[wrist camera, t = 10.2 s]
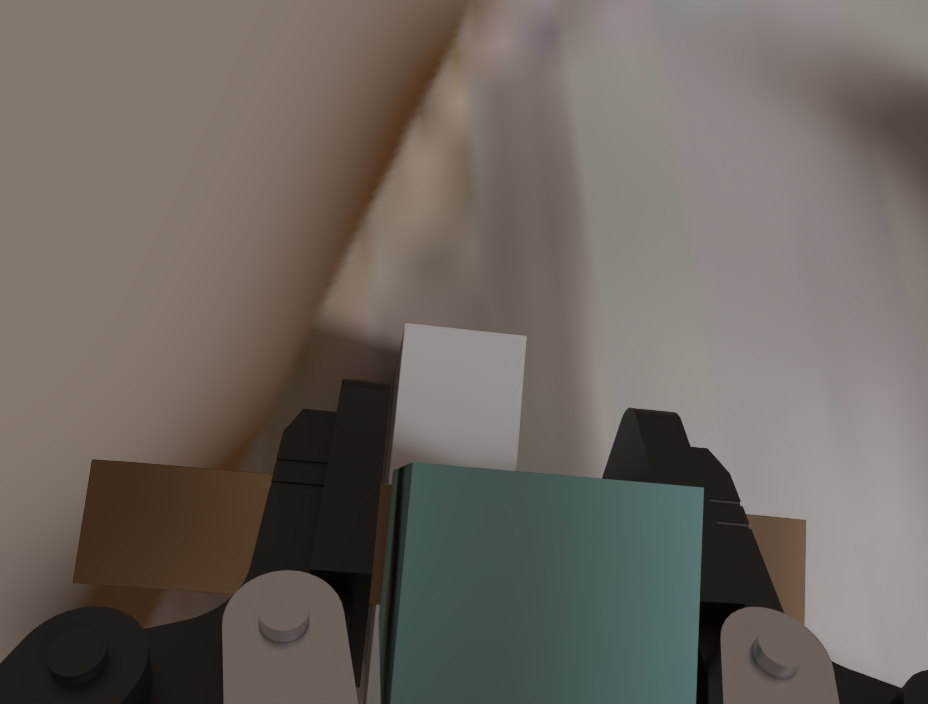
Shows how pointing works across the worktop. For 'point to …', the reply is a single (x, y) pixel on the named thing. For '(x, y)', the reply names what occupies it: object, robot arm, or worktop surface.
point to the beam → (466, 573)
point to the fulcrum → (451, 416)
